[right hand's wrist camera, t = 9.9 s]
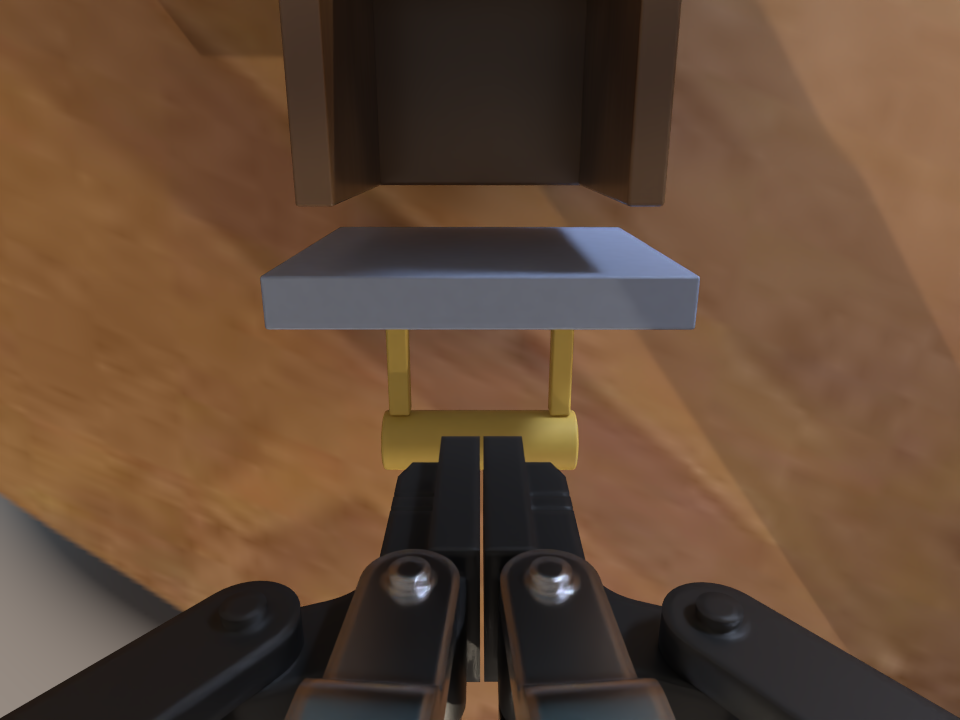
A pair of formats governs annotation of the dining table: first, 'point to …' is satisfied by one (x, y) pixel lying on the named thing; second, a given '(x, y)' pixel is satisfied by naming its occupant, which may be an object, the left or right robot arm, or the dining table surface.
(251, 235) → the dining table surface
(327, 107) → the drawer
